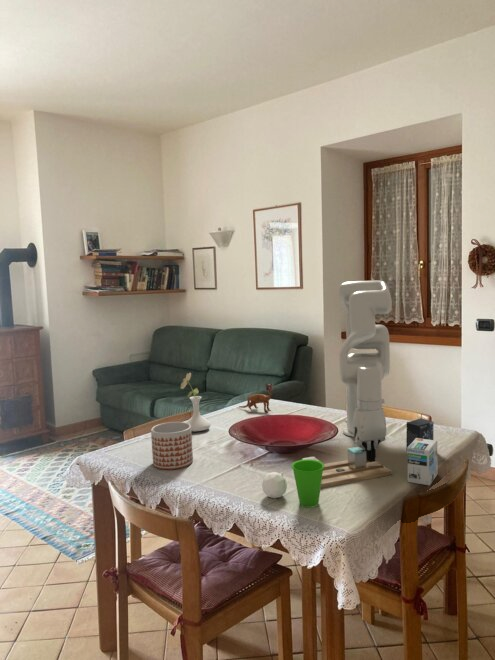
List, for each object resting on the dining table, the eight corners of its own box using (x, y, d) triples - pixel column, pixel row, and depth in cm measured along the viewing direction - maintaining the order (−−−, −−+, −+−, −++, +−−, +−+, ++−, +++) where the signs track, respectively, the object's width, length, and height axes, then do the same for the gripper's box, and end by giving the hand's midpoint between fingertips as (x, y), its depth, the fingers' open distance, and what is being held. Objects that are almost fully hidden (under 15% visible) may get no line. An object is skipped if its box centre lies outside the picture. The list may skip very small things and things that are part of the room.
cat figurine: (235, 411, 246) (234, 382, 245) (242, 407, 252) (240, 379, 251) (271, 413, 239) (270, 384, 237) (276, 410, 245) (275, 381, 243)
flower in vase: (196, 424, 227) (193, 367, 224) (216, 428, 220) (213, 369, 218) (175, 432, 216) (171, 373, 214) (195, 436, 210) (192, 375, 207)
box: (419, 455, 178) (419, 425, 177) (406, 451, 183) (405, 421, 182) (434, 450, 182) (434, 421, 181) (420, 446, 187) (420, 417, 186)
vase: (177, 453, 191) (175, 419, 190) (201, 461, 181) (199, 426, 180) (145, 464, 181) (143, 428, 180) (168, 473, 172) (166, 435, 170)
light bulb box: (430, 486, 153) (429, 450, 152) (406, 482, 156) (406, 447, 155) (438, 473, 162) (438, 440, 161) (416, 470, 165) (415, 437, 164)
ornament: (264, 490, 155) (279, 467, 155) (281, 505, 150) (297, 482, 151) (252, 486, 150) (268, 462, 150) (270, 502, 145) (286, 477, 145)
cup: (290, 497, 149) (288, 460, 148) (321, 495, 150) (320, 458, 149) (295, 511, 140) (294, 472, 139) (328, 509, 141) (327, 469, 140)
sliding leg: (347, 465, 168) (347, 448, 168) (358, 463, 169) (358, 446, 169) (355, 470, 164) (354, 452, 163) (366, 468, 165) (366, 451, 164)
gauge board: (296, 472, 168) (295, 453, 167) (367, 460, 176) (367, 442, 175) (315, 488, 154) (315, 468, 154) (391, 474, 163) (391, 455, 162)
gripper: (383, 399, 172) (383, 453, 174) (342, 404, 167) (344, 460, 169) (396, 404, 165) (397, 460, 167) (354, 410, 160) (356, 468, 162)
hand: (370, 460), depth 168 cm, fingers closed
